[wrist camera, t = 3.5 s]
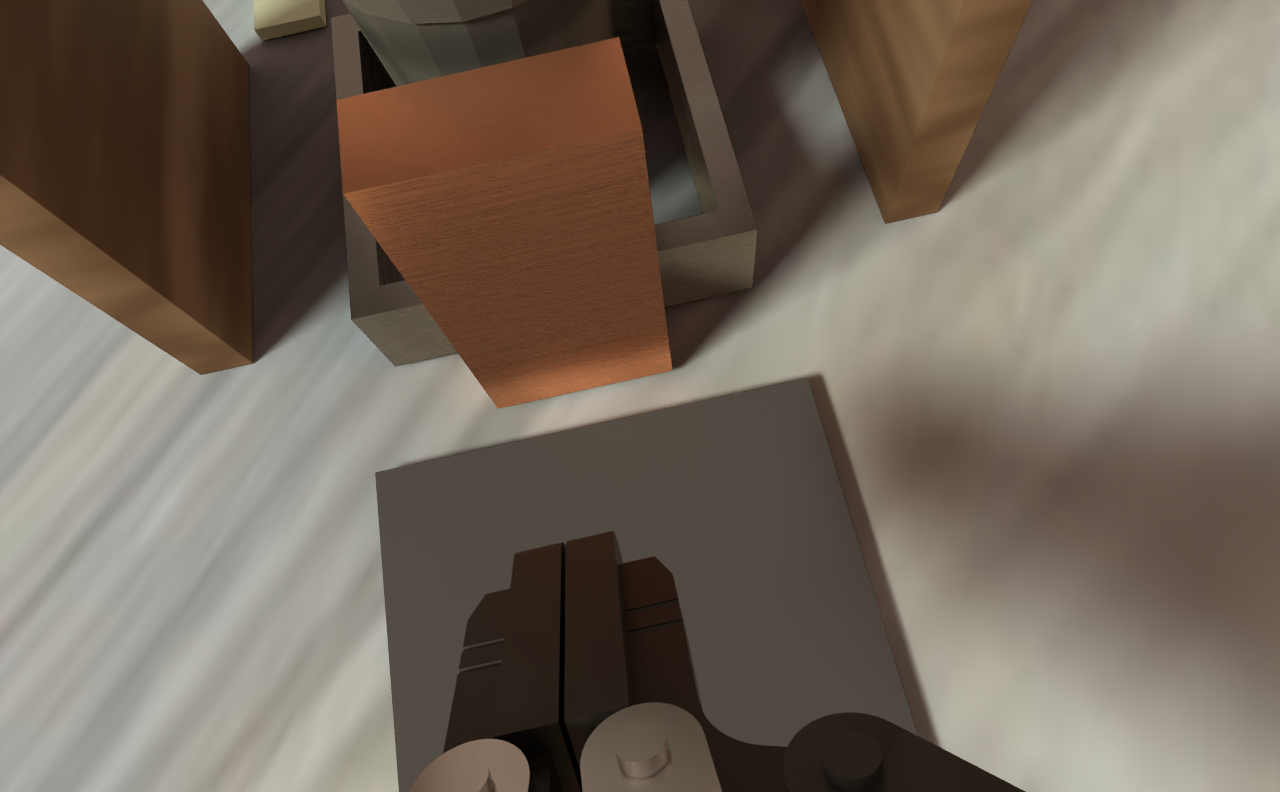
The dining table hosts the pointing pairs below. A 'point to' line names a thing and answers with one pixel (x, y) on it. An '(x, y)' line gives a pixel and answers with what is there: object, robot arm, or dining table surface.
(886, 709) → the dark grey slab
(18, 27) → the tunnel
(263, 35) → the pair of cream slabs
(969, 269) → the dining table surface
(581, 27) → the beverage cup
